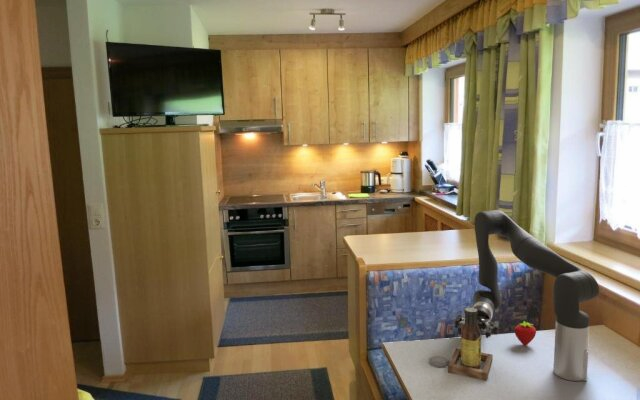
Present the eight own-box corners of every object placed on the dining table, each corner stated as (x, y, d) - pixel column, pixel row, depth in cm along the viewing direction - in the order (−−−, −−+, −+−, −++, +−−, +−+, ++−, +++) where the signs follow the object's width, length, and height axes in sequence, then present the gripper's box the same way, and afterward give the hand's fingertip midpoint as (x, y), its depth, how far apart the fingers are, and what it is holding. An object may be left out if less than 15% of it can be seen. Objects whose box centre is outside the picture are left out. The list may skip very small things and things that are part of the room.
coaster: (452, 359, 160) (452, 357, 159) (447, 369, 153) (447, 367, 153) (431, 355, 163) (431, 353, 163) (426, 365, 157) (426, 363, 156)
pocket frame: (492, 361, 157) (492, 354, 157) (486, 380, 146) (487, 373, 146) (455, 354, 163) (456, 347, 162) (448, 372, 151) (448, 365, 151)
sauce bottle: (483, 372, 151) (484, 313, 148) (463, 372, 151) (464, 314, 148) (477, 361, 158) (478, 305, 154) (458, 362, 158) (459, 306, 154)
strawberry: (510, 342, 170) (511, 316, 169) (530, 340, 171) (531, 314, 169) (518, 349, 165) (519, 323, 163) (539, 348, 165) (540, 321, 164)
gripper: (461, 302, 173) (451, 319, 159) (501, 308, 167) (496, 326, 153) (460, 321, 175) (451, 339, 160) (501, 327, 168) (495, 347, 154)
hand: (473, 333), depth 157 cm, fingers open, 8 cm apart
